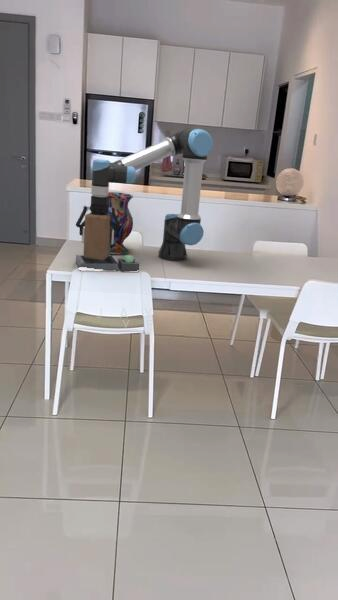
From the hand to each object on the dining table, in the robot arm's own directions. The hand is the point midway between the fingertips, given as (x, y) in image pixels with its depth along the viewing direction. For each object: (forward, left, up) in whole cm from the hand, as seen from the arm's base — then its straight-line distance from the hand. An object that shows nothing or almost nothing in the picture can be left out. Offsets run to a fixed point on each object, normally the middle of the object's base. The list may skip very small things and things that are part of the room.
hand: (97, 242), depth 222 cm
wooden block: (0, 0, -7) cm, 7 cm away
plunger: (-14, +5, -10) cm, 18 cm away
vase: (-15, -31, -12) cm, 36 cm away
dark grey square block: (-14, +5, -11) cm, 19 cm away
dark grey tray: (0, 0, -11) cm, 11 cm away
